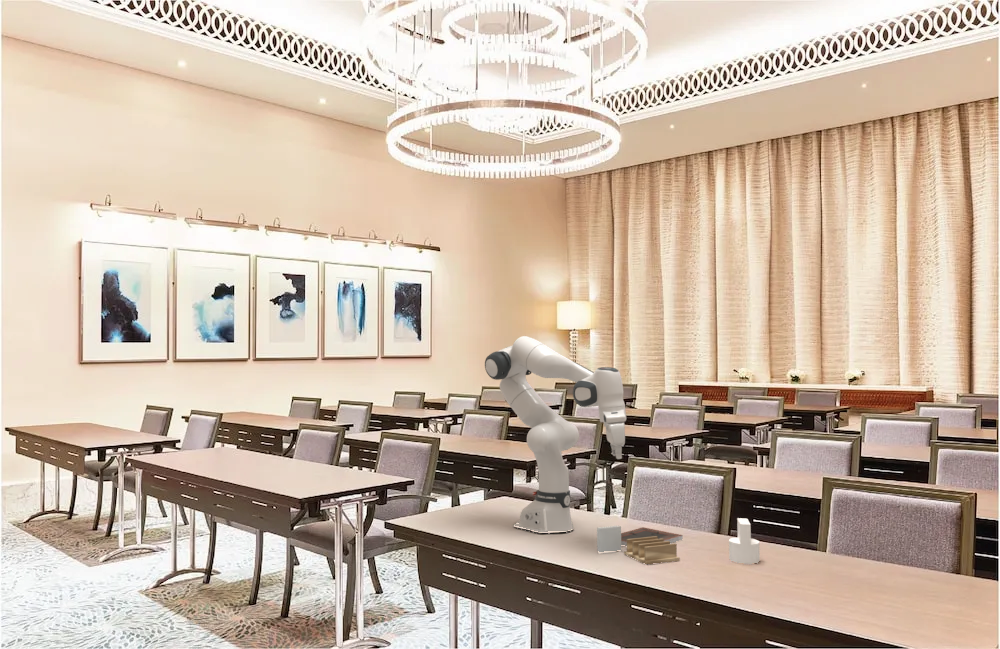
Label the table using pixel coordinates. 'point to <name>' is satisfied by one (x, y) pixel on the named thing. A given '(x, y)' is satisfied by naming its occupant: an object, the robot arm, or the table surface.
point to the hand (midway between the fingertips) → (617, 457)
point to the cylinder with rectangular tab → (744, 544)
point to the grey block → (609, 538)
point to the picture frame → (649, 535)
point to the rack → (651, 550)
